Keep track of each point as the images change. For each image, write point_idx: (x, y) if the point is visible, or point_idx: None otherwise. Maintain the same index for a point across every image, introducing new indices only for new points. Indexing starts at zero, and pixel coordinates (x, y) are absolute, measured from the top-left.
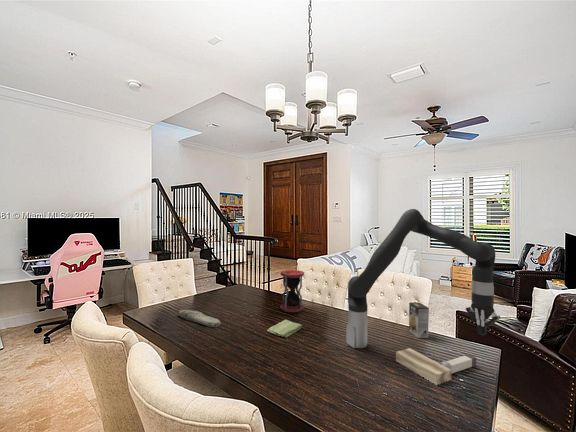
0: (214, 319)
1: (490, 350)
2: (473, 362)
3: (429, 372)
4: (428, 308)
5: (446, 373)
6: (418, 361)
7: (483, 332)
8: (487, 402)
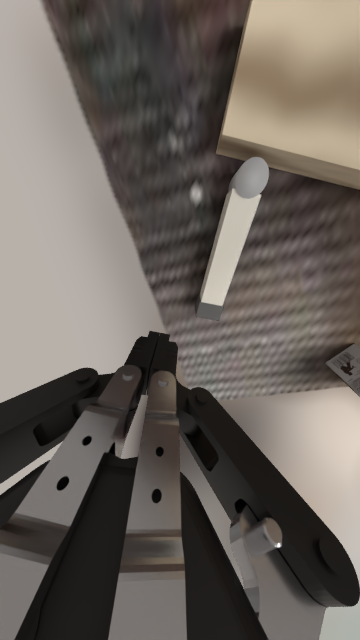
0: None
1: None
2: (198, 301)
3: None
4: None
5: (230, 93)
6: None
7: (143, 343)
8: (93, 108)
